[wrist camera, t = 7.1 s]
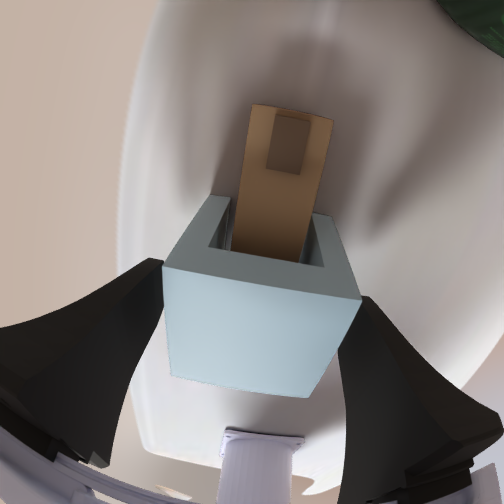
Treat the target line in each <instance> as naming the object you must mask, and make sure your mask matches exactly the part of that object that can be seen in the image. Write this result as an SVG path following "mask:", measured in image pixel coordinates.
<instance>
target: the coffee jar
mask: <svg viewBox="0 0 504 504" xmlns="http://www.w3.org/2000/svg"><path fill="white" fill-rule="evenodd" d="M437 1H438V2H439V3H440V5H441V6H442V7H443V8H444V10H445V11H446V12H447V13H448V14H449V16H450V17H451V18H452V19H453V20H454V21H455V22H456V23H457V24H458V25H459V26H460V27H461V28H463V29H464V30H465V31H466V32H467V33H468V34H470V35H471V36H472V37H474V38H475V39H476V40H477V41H479V42H480V43H482V44H483V45H485V46H486V47H487V48H489V49H490V50H492V51H493V52H495V53H496V54H498V55H500V56H501V57H503V58H504V0H437Z"/></svg>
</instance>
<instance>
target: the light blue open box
mask: <svg viewBox="0 0 504 504" xmlns="http://www.w3.org/2000/svg"><path fill="white" fill-rule="evenodd" d="M230 201H231V198H229V197H223V196H217V195H209V196H208V198H207V199H206V201H205V202H204V204H203V205H202V207H201V208H200V209H199V211H198V212H197V214H196V215H195V217H194V218H193V220H192V221H191V223H190V224H189V226H188V227H187V229H186V230H185V232H184V233H183V235H182V236H181V238H180V239H179V241H178V242H177V244H176V245H175V247H174V248H173V250H172V251H171V253H170V255H169V256H168V258H167V259H166V261H165V262H164V264H163V266H162V277H163V296H164V311H165V324H166V335H167V345H168V355H169V363H170V372H171V376H174V377H178V378H182V379H187V380H191V381H195V382H200V383H205V384H210V385H215V386H220V387H225V388H231V389H237V390H243V391H249V392H256V393H264V394H272V395H280V396H290V397H301V398H309V396H310V395H311V393H312V391H313V390H314V388H315V387H316V385H317V383H318V382H319V380H320V378H321V377H322V375H323V373H324V372H325V370H326V368H327V367H328V365H329V363H330V362H331V360H332V358H333V356H334V355H335V353H336V351H337V349H338V347H339V346H340V344H341V342H342V340H343V338H344V336H345V334H346V333H347V331H348V329H349V327H350V325H351V323H352V321H353V319H354V317H355V315H356V313H357V311H358V309H359V307H360V305H361V303H362V298H361V295H360V292H359V289H358V286H357V283H356V280H355V277H354V274H353V272H352V269H351V266H350V263H349V261H348V258H347V255H346V253H345V250H344V247H343V245H342V242H341V240H340V237H339V234H338V232H337V229H336V227H335V224H334V222H333V220H332V217H331V216H326V215H322V214H317V213H312V215H311V219H310V222H309V226H308V230H307V234H306V237H305V241H304V245H303V248H302V252H301V255H300V259H299V262H298V263H295V262H289V261H284V260H278V259H272V258H267V257H261V256H255V255H250V254H244V253H238V252H233V251H227V250H225V241H226V233H227V225H228V217H229V209H230Z"/></svg>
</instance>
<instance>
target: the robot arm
mask: <svg viewBox="0 0 504 504" xmlns="http://www.w3.org/2000/svg"><path fill="white" fill-rule="evenodd" d="M163 264H164V261H163V260H158V259H153V258H147V259H146V260H144V261H142V262H141V263H139V264H138V265H136V266H134V267H133V268H131V269H130V270H128V271H127V272H125V273H124V274H122V275H120V276H119V277H117V278H116V279H114V280H113V281H111V282H109V283H108V284H106V285H104V286H103V287H101V288H99V289H97V290H96V291H94V292H92V293H91V294H89V295H87V296H85V297H83V298H82V299H80V300H78V301H76V302H74V303H72V304H70V305H67V306H65V307H63V308H61V309H59V310H56V311H53V312H51V313H48V314H46V315H43V316H41V317H38V318H35V319H32V320H29V321H26V322H22V323H19V324H15V325H11V326H7V327H3V328H0V498H1V499H2V500H3V501H4V502H5V503H6V504H109V503H107V502H105V501H102V500H100V499H97V498H96V497H95V495H94V492H93V490H92V489H94V490H96V491H98V492H100V493H103V494H105V495H107V496H110V497H112V498H115V499H117V500H120V501H122V502H125V503H128V504H199V503H194V502H189V501H185V500H181V499H176V498H173V497H168V496H165V495H161V494H158V493H154V492H151V491H148V490H145V489H142V488H139V487H136V486H133V485H130V484H127V483H125V482H122V481H119V480H117V479H114V478H112V477H109V476H107V475H105V474H102V473H100V472H98V471H95V470H93V469H91V468H89V467H87V466H85V465H83V464H81V463H79V462H78V461H79V460H80V461H82V462H83V463H86V464H88V463H89V464H92V465H94V466H96V467H98V468H105V467H108V466H109V465H110V458H111V452H112V447H113V442H114V437H115V432H116V428H117V424H118V420H119V416H120V412H121V409H122V405H123V402H124V399H125V395H126V392H127V389H128V386H129V383H130V381H131V378H132V375H133V373H134V371H135V368H136V366H137V364H138V362H139V360H140V358H141V356H142V354H143V352H144V350H145V348H146V346H147V344H148V342H149V340H150V338H151V336H152V334H153V332H154V330H155V328H156V326H157V324H158V322H159V319H160V316H161V314H162V311H163V308H164V296H163V277H162V266H163ZM361 298H362V303H361V305H360V307H359V309H358V311H357V313H356V315H355V317H354V319H353V321H352V323H351V325H350V327H349V329H348V331H347V333H346V334H345V336H344V338H343V340H342V342H341V344H340V346H339V347H338V359H339V365H340V372H341V378H342V384H343V391H344V398H345V406H346V447H345V459H344V469H343V476H342V482H341V488H340V493H339V498H338V502H337V504H502V500H501V493H500V487H499V482H498V477H497V472H496V468H495V464H494V463H491V464H489V465H487V466H485V467H483V468H481V469H479V470H477V471H475V472H473V473H471V474H470V470H469V468H471V467H473V465H474V461H473V457H475V456H476V455H478V454H479V453H481V452H482V451H484V450H485V449H487V448H488V447H490V446H491V445H492V444H494V443H495V442H496V441H497V440H498V439H499V438H501V436H502V435H503V433H504V428H503V425H502V422H501V419H500V417H499V415H498V413H497V412H495V411H493V410H491V409H489V408H488V407H486V406H484V405H482V404H480V403H479V402H477V401H475V400H474V399H472V398H471V397H469V396H468V395H466V394H465V393H464V392H462V391H461V390H459V389H458V388H457V387H455V386H454V385H453V384H452V383H451V382H449V381H448V380H447V379H446V378H444V377H443V376H442V375H441V374H440V373H439V372H437V371H436V370H435V369H434V368H433V367H432V366H431V365H430V364H429V363H428V362H427V361H426V360H425V359H424V358H423V357H422V356H421V355H420V354H419V353H418V352H417V351H416V350H415V349H414V347H413V346H412V345H411V344H410V343H409V342H408V341H407V340H406V339H405V337H404V336H403V335H402V334H401V333H400V332H399V330H398V329H397V328H396V327H395V326H394V324H393V323H392V322H391V321H390V320H389V318H388V317H387V316H386V315H385V314H384V312H383V311H382V310H381V309H380V308H379V307H378V305H377V304H376V303H375V302H374V301H373V300H372V299H371V298H370V297H368V296H361ZM304 442H305V439H304V438H298V437H283V436H271V435H262V434H253V433H246V432H239V431H232V430H225V431H224V436H223V440H222V445H221V449H220V454H219V456H220V457H223V463H222V469H221V475H220V482H219V487H218V493H217V500H216V504H290V500H291V480H292V455H293V454H294V453H295V452H296V451H297V450H298V449H299V448H300V447H301V445H302V444H303V443H304Z"/></svg>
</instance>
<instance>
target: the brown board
mask: <svg viewBox="0 0 504 504" xmlns="http://www.w3.org/2000/svg"><path fill="white" fill-rule="evenodd" d="M333 122H334V120H330V119H327V118H324V117H321V116H316V115H312V114H308V113H303V112H298V111H293V110H288V109H283V108H278V107H272V106H266V105H260V104H252V109H251V115H250V121H249V127H248V134H247V140H246V146H245V153H244V159H243V166H242V173H241V179H240V186H239V193H238V200H237V207H236V214H235V221H234V228H233V235H232V243H231V250H230V251H233V252H238V253H244V254H250V255H255V256H261V257H267V258H272V259H278V260H284V261H289V262H295V263H298V262H299V259H300V255H301V252H302V248H303V245H304V241H305V237H306V234H307V230H308V226H309V222H310V219H311V215H312V211H313V207H314V203H315V199H316V195H317V191H318V187H319V183H320V179H321V175H322V171H323V167H324V163H325V158H326V154H327V150H328V145H329V141H330V136H331V132H332V127H333Z"/></svg>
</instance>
